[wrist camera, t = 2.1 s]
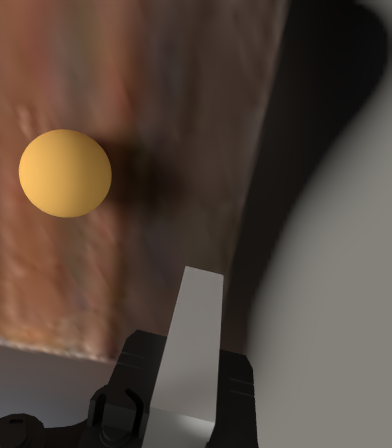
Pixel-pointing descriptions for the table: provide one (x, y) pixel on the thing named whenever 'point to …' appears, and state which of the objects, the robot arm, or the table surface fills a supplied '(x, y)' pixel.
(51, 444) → the robot arm
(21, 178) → the ball
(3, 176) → the table surface
